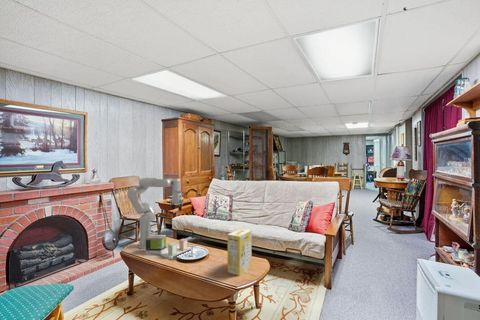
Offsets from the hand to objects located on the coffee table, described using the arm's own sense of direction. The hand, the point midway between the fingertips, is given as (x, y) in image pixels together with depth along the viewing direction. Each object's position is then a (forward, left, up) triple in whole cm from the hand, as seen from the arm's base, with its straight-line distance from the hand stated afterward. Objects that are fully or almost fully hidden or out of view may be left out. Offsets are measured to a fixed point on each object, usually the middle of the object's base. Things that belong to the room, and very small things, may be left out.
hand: (176, 209), depth 218 cm
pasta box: (+73, 0, -37) cm, 82 cm away
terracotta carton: (+12, -2, -34) cm, 36 cm away
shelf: (+10, -9, -36) cm, 39 cm away
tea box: (-7, -17, -37) cm, 41 cm away
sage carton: (+13, -15, -34) cm, 40 cm away
